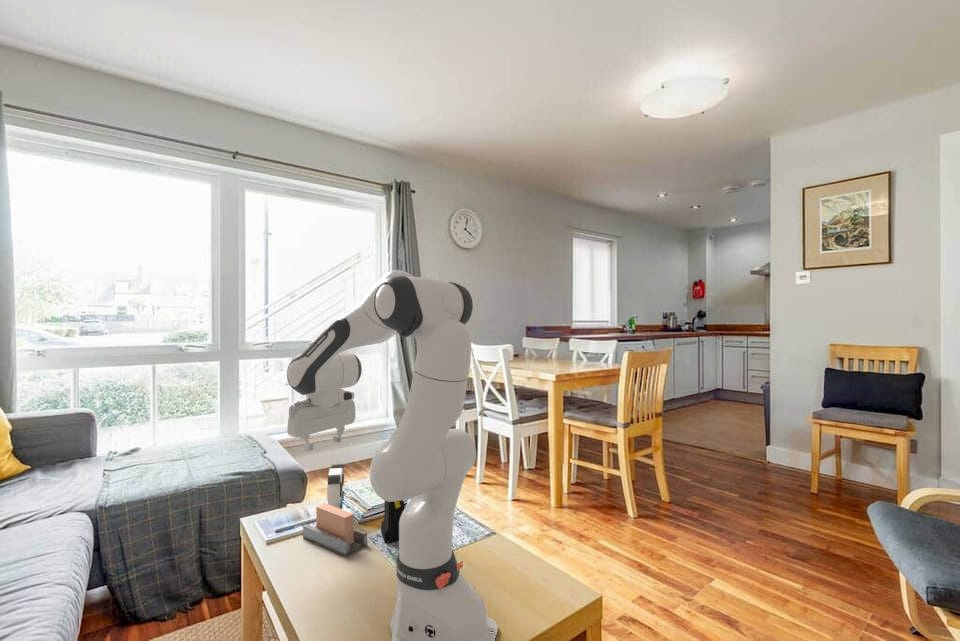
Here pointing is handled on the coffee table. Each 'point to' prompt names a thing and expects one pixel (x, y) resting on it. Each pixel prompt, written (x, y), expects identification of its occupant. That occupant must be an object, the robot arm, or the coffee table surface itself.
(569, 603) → the coffee table surface
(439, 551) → the robot arm
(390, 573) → the coffee table surface
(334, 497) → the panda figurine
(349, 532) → the salmon orange rectangular block
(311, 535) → the bracket
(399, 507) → the portable radio
